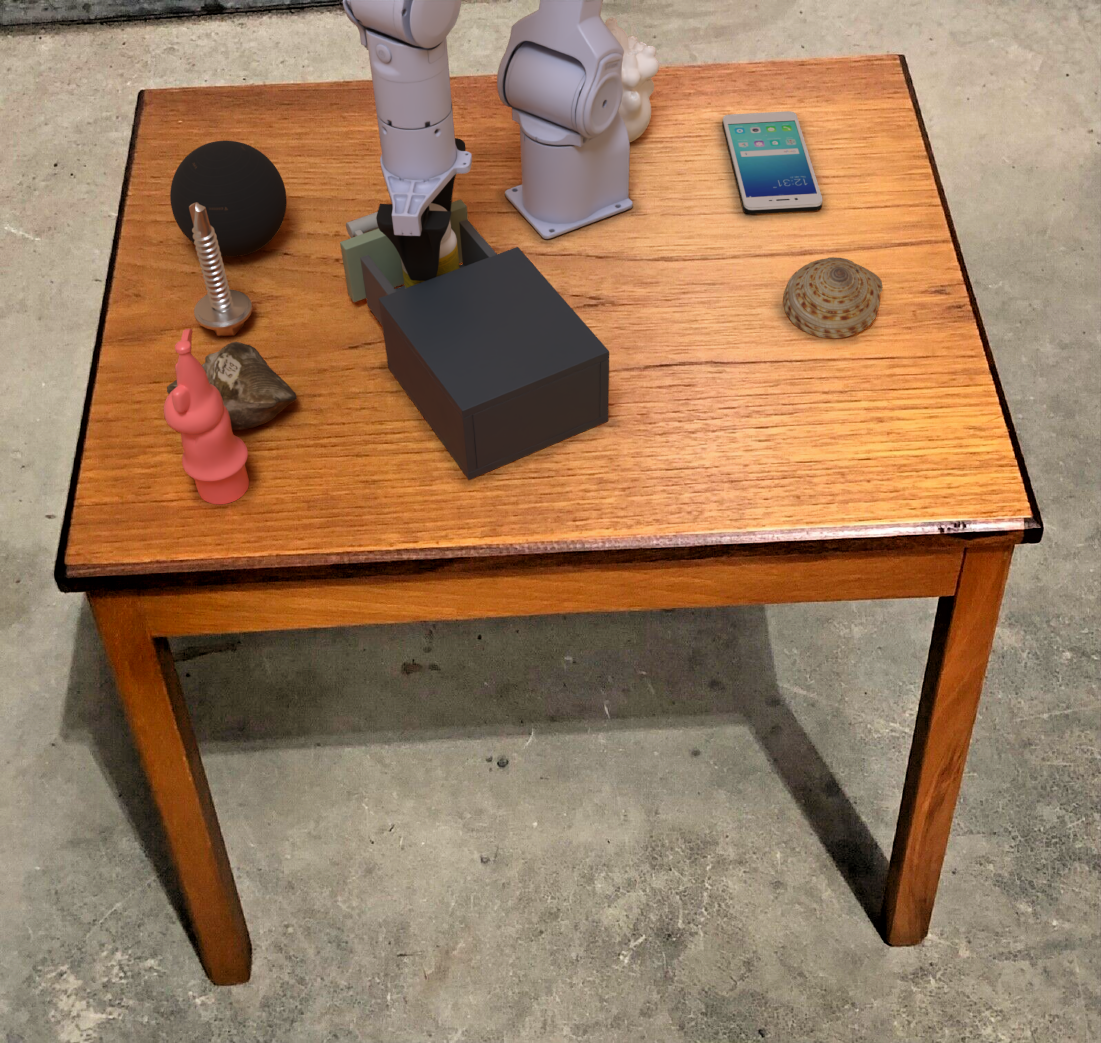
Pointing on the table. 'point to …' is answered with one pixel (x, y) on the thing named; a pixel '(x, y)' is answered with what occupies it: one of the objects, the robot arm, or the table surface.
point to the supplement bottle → (447, 252)
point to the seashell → (832, 297)
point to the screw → (216, 282)
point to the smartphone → (771, 163)
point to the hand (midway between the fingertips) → (429, 251)
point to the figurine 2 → (635, 80)
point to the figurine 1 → (205, 431)
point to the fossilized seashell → (246, 385)
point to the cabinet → (495, 361)
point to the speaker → (230, 195)
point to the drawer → (396, 256)
